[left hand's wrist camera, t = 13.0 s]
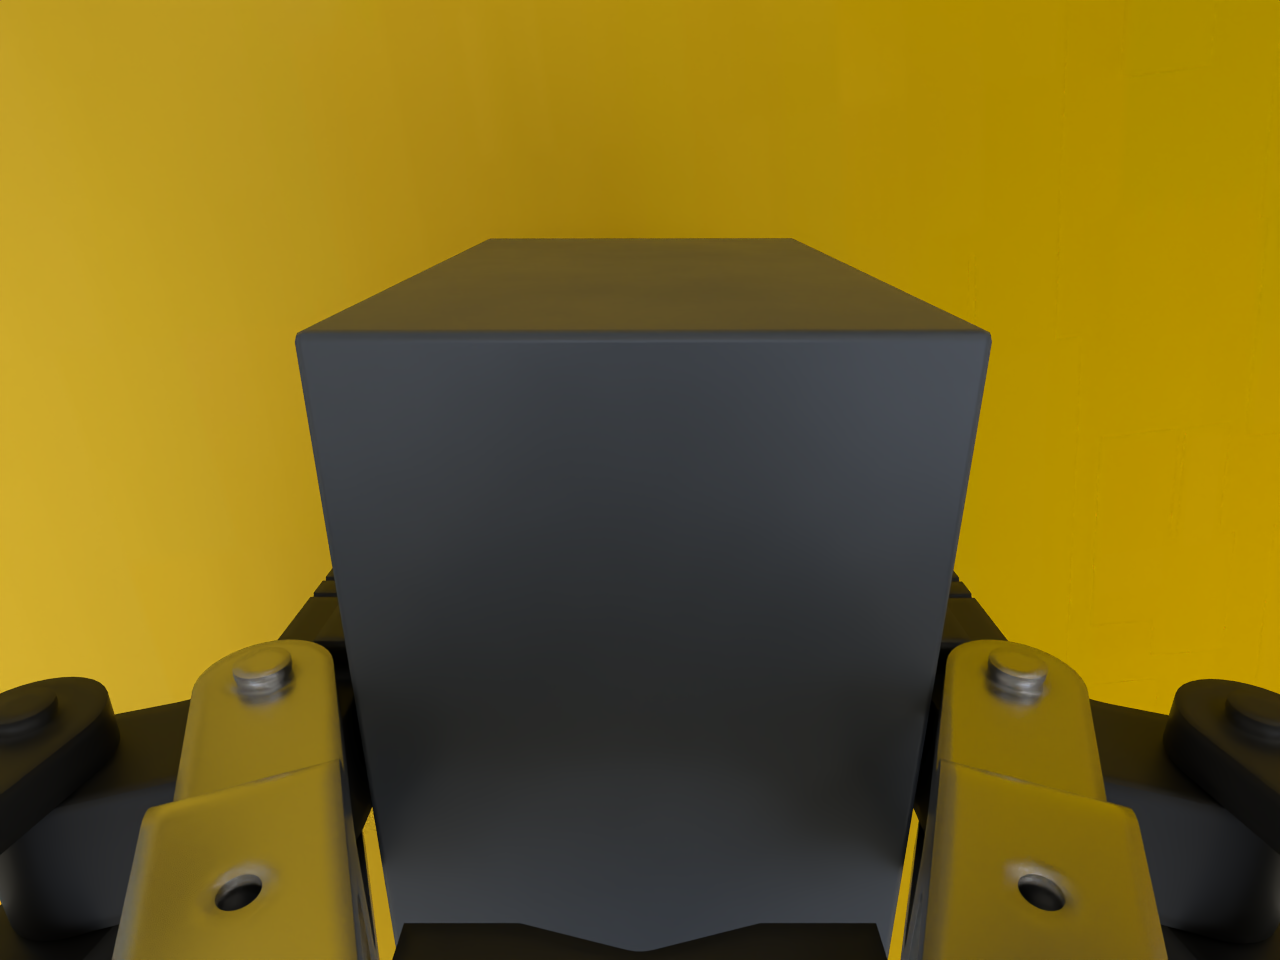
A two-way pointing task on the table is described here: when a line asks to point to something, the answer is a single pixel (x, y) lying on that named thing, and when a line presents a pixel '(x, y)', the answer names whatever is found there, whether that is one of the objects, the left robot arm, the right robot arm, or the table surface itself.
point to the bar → (643, 578)
